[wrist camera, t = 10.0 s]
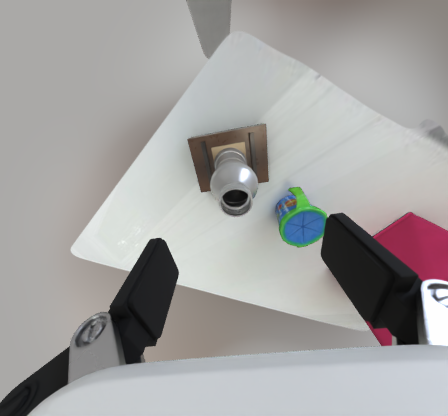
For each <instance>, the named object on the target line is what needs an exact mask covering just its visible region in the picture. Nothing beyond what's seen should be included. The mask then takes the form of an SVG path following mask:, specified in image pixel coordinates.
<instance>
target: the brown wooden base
mask: <svg viewBox="0 0 448 416" xmlns="http://www.w3.org/2000/svg"><path fill="white" fill-rule="evenodd" d="M187 140H188V144H189V147H190V151H191V155H192V159H193V163H194V167H195V170H196V174H197V178H198V182H199V186H200V190H201V192H207V191H211V188H210V181H211V178H212V175H213V173H214V172H215V168H214V160H215V157H216V155H217V154H218V153H219V152H220V151H221V150H223V149H225V148H236V149H238V150H240V151H241V152H243V154H244V155H245V157H246V159H247V166H248V167H250V168H251V169H252V170H253V172H254V173H255V175H256V177H257V180H258V183H263V182H269V177H268V156H267V135H266V124H257V125H252V126H247V127H241V128H236V129H231V130H226V131H221V132H215V133H210V134H205V135H200V136H195V137H191V138H189V139H187Z"/></svg>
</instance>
